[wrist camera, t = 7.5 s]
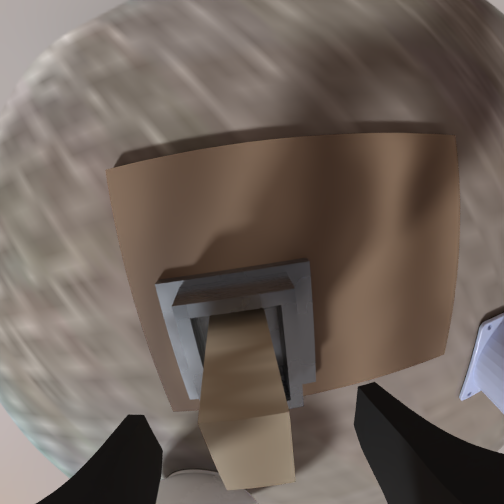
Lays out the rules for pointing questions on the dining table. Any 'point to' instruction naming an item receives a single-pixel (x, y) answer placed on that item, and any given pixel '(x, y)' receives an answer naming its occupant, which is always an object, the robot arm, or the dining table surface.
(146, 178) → the walnut board
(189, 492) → the lidded jar
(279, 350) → the grey square socket
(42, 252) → the dining table surface
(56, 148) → the dining table surface
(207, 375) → the tan wooden block
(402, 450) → the robot arm
